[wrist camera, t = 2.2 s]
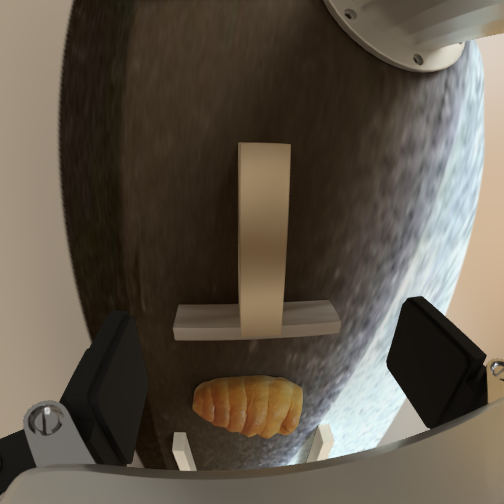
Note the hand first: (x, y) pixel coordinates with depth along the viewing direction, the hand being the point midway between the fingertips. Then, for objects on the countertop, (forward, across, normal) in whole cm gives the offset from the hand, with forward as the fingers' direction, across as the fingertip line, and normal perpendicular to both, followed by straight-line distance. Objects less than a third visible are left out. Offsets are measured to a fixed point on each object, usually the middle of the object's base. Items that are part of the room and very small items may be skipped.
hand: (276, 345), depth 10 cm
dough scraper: (+11, -1, -1) cm, 11 cm away
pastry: (+12, 0, +15) cm, 19 cm away
